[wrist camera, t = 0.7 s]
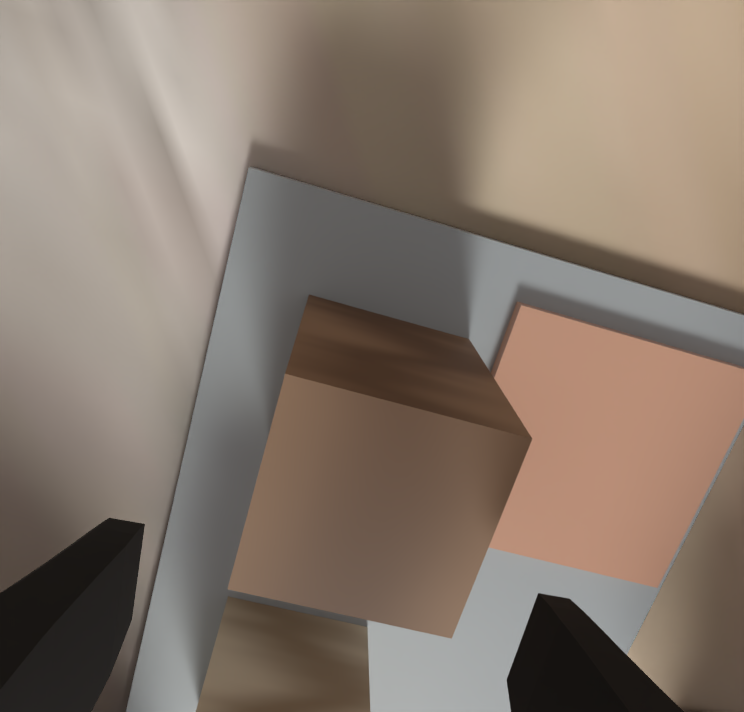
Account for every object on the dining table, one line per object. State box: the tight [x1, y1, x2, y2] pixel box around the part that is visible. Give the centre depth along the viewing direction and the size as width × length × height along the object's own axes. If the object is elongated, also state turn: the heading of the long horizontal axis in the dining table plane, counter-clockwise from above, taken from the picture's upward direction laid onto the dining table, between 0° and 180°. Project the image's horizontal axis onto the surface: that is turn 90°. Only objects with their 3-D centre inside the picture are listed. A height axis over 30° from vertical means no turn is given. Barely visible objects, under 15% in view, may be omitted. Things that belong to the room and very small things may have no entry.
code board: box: [126, 167, 744, 712], centre depth 22 cm, size 17×22×1 cm
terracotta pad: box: [489, 301, 744, 588], centre depth 20 cm, size 8×8×1 cm
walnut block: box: [228, 295, 532, 639], centre depth 16 cm, size 5×5×7 cm
